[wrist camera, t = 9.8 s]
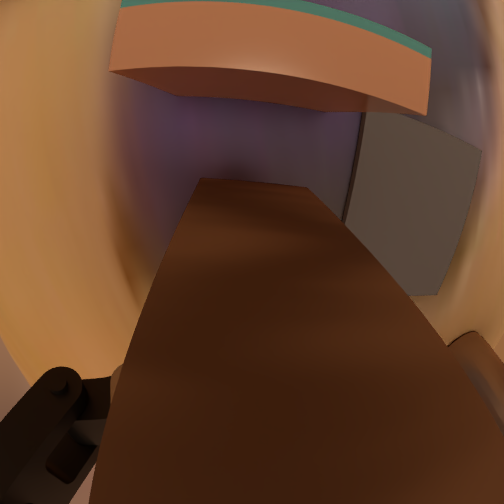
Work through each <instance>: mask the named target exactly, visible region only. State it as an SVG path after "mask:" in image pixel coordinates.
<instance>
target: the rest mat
mask: <svg viewBox="0 0 504 504" xmlns="http://www.w3.org/2000/svg"><path fill="white" fill-rule="evenodd" d="M481 154H482V151H481V150H479V149H477V148H476V147H474V146H472V145H470V144H468V143H466V142H464V141H462V140H460V139H458V138H456V137H454V136H452V135H450V134H447V133H445V132H443V131H441V130H438V129H436V128H434V127H432V126H429V125H427V124H424V123H422V122H419V121H417V120H414V119H412V118H409V117H406V116H404V115H401V114H398V113H382V112H362V118H361V125H360V132H359V138H358V144H357V150H356V155H355V161H354V166H353V171H352V177H351V182H350V187H349V191H348V196H347V201H346V205H345V210H344V214H343V219H342V222H343V223H344V224H345V226H346V227H347V228H348V229H349V230H350V231H351V232H352V233H353V234H354V235H355V236H356V237H357V238H358V239H359V240H360V241H361V242H362V244H363V245H364V246H365V247H366V248H367V249H368V250H369V251H370V252H371V253H372V254H373V256H374V257H375V258H376V259H377V260H378V261H379V262H380V263H381V265H382V266H383V267H384V268H385V269H386V270H387V271H388V273H389V274H390V275H391V276H392V277H393V278H394V280H395V281H396V282H397V283H398V284H399V285H400V287H401V288H402V289H403V290H404V291H405V293H406V294H407V295H408V296H418V295H437V293H438V291H439V289H440V287H441V284H442V282H443V280H444V277H445V275H446V273H447V270H448V268H449V265H450V263H451V260H452V258H453V255H454V252H455V250H456V247H457V244H458V241H459V238H460V235H461V232H462V229H463V226H464V223H465V220H466V217H467V213H468V210H469V206H470V203H471V199H472V195H473V191H474V187H475V183H476V179H477V174H478V169H479V165H480V159H481Z"/></svg>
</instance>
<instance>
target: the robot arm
mask: <svg viewBox="0 0 504 504" xmlns="http://www.w3.org/2000/svg"><path fill="white" fill-rule="evenodd" d="M448 348H449V350H450V351H451V353H452V354H453V355H454V357H455V358H456V360H457V361H458V363H459V364H460V366H461V367H462V368H463V370H464V371H465V373H466V374H467V376H468V377H469V379H470V381H471V382H472V384H473V385H474V387H475V388H476V390H477V392H478V393H479V395H480V396H481V398H482V400H483V401H484V403H485V405H486V406H487V408H488V410H489V411H490V413H491V415H492V417H493V418H494V420H495V422H496V424H497V425H498V427H499V429H500V431H501V433H502V435H503V437H504V363H503V362H502V361H501V359H500V358H499V357H498V355H497V354H496V353H495V352H494V350H493V349H492V348H491V346H490V345H489V344H488V343H487V341H486V340H485V339H484V338H483V337H481V336H480V335H479V334H478V333H477V332H470V333H467V334H465V335H463V336H462V337H460V338H459V339H457V340H456V341H455V342H453V343H452V344H451V345H450V346H449V347H448ZM122 366H123V364H122V365H120V366H119V367H118V368H116V370H115V371H114V372H113V374H112V376H109V377H105V378H96V379H83V380H82V379H81V377H80V376H79V374H78V373H77V372H76V371H74V370H73V369H71V368H68V367H55V368H52V369H50V370H48V371H47V372H45V373H44V374H43V375H42V376H41V377H40V378H39V379H38V381H37V382H36V383H35V384H34V385H33V386H32V387H31V388H30V389H29V390H28V391H27V392H26V394H25V395H24V396H23V397H22V398H21V399H20V400H19V401H18V402H17V404H16V405H15V406H14V407H13V408H12V409H11V410H10V412H9V413H8V414H7V415H6V416H5V417H4V419H3V420H2V421H1V422H0V504H69V503H70V501H71V499H72V498H73V496H74V495H75V493H76V492H77V490H78V489H79V487H80V486H81V484H82V483H83V481H84V480H85V478H86V477H87V475H88V474H89V472H90V471H91V469H92V468H93V466H94V465H95V463H96V462H97V457H98V453H99V448H100V444H101V440H102V436H103V432H104V428H105V424H106V420H107V417H108V413H109V409H110V406H111V402H112V399H113V395H114V392H115V389H116V385H117V382H118V379H119V376H120V372H121V369H122Z"/></svg>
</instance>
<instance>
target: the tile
mask: <svg viewBox="0 0 504 504" xmlns="http://www.w3.org/2000/svg"><path fill="white" fill-rule="evenodd" d="M109 71H110V72H113V73H116V74H119V75H122V76H125V77H128V78H131V79H134V80H137V81H139V82H142V83H145V84H148V85H150V86H153V87H156V88H158V89H161V90H163V91H166V92H168V93H171V94H173V95H176V96H198V97H218V98H232V99H243V100H253V101H261V102H269V103H276V104H283V105H289V106H295V107H301V108H307V109H312V110H317V111H322V112H382V113H400V114H413V115H423V116H426V114H427V106H428V97H429V86H430V72H431V48H429V47H427V46H425V45H424V44H422V43H420V42H418V41H416V40H414V39H412V38H410V37H408V36H405V35H403V34H401V33H399V32H397V31H394V30H392V29H390V28H388V27H385V26H383V25H380V24H378V23H375V22H373V21H370V20H367V19H364V18H362V17H359V16H356V15H353V14H350V13H347V12H344V11H340V10H337V9H333V8H330V7H326V6H322V5H318V4H314V3H310V2H306V1H301V0H122V3H121V7H120V11H119V16H118V20H117V25H116V30H115V35H114V40H113V45H112V51H111V58H110V65H109Z"/></svg>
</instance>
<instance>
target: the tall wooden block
mask: <svg viewBox="0 0 504 504" xmlns="http://www.w3.org/2000/svg"><path fill="white" fill-rule="evenodd" d="M89 504H504V437H503V435H502V433H501V431H500V429H499V427H498V425H497V424H496V422H495V420H494V418H493V417H492V415H491V413H490V411H489V410H488V408H487V406H486V405H485V403H484V401H483V400H482V398H481V396H480V395H479V393H478V392H477V390H476V388H475V387H474V385H473V384H472V382H471V381H470V379H469V377H468V376H467V374H466V373H465V371H464V370H463V368H462V367H461V366H460V364H459V363H458V361H457V360H456V358H455V357H454V355H453V354H452V353H451V351H450V350H449V348H448V347H447V346H446V344H445V343H444V341H443V340H442V339H441V337H440V336H439V335H438V333H437V332H436V331H435V329H434V328H433V327H432V325H431V324H430V323H429V321H428V320H427V319H426V318H425V316H424V315H423V314H422V312H421V311H420V310H419V309H418V307H417V306H416V305H415V304H414V302H413V301H412V300H411V299H410V298H409V296H408V295H407V294H406V293H405V291H404V290H403V289H402V288H401V287H400V285H399V284H398V283H397V282H396V281H395V280H394V278H393V277H392V276H391V275H390V274H389V273H388V271H387V270H386V269H385V268H384V267H383V266H382V265H381V263H380V262H379V261H378V260H377V259H376V258H375V257H374V256H373V254H372V253H371V252H370V251H369V250H368V249H367V248H366V247H365V246H364V245H363V244H362V242H361V241H360V240H359V239H358V238H357V237H356V236H355V235H354V234H353V233H352V232H351V231H350V230H349V229H348V228H347V227H346V226H345V224H344V223H343V222H342V221H341V220H340V219H339V218H338V217H337V216H336V215H335V214H334V213H333V212H332V211H331V210H330V209H329V208H328V207H327V206H326V205H325V204H324V203H323V202H322V201H321V200H320V199H319V198H318V197H317V196H316V195H315V194H314V193H312V192H311V191H310V190H309V189H308V188H307V187H299V186H290V185H282V184H272V183H262V182H251V181H240V180H227V179H212V178H200V180H199V182H198V184H197V186H196V188H195V190H194V192H193V194H192V197H191V199H190V201H189V203H188V205H187V207H186V209H185V211H184V213H183V215H182V217H181V220H180V222H179V224H178V226H177V228H176V230H175V233H174V235H173V237H172V239H171V242H170V244H169V246H168V248H167V251H166V253H165V255H164V258H163V260H162V262H161V265H160V267H159V269H158V272H157V274H156V277H155V279H154V281H153V284H152V286H151V289H150V291H149V294H148V296H147V299H146V302H145V304H144V307H143V309H142V312H141V315H140V317H139V320H138V323H137V326H136V328H135V331H134V334H133V337H132V340H131V342H130V345H129V348H128V351H127V354H126V357H125V360H124V363H123V366H122V369H121V372H120V376H119V379H118V382H117V385H116V389H115V392H114V395H113V399H112V402H111V406H110V409H109V413H108V417H107V420H106V424H105V428H104V432H103V436H102V440H101V444H100V448H99V453H98V457H97V462H96V467H95V471H94V476H93V481H92V487H91V493H90V498H89Z"/></svg>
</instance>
